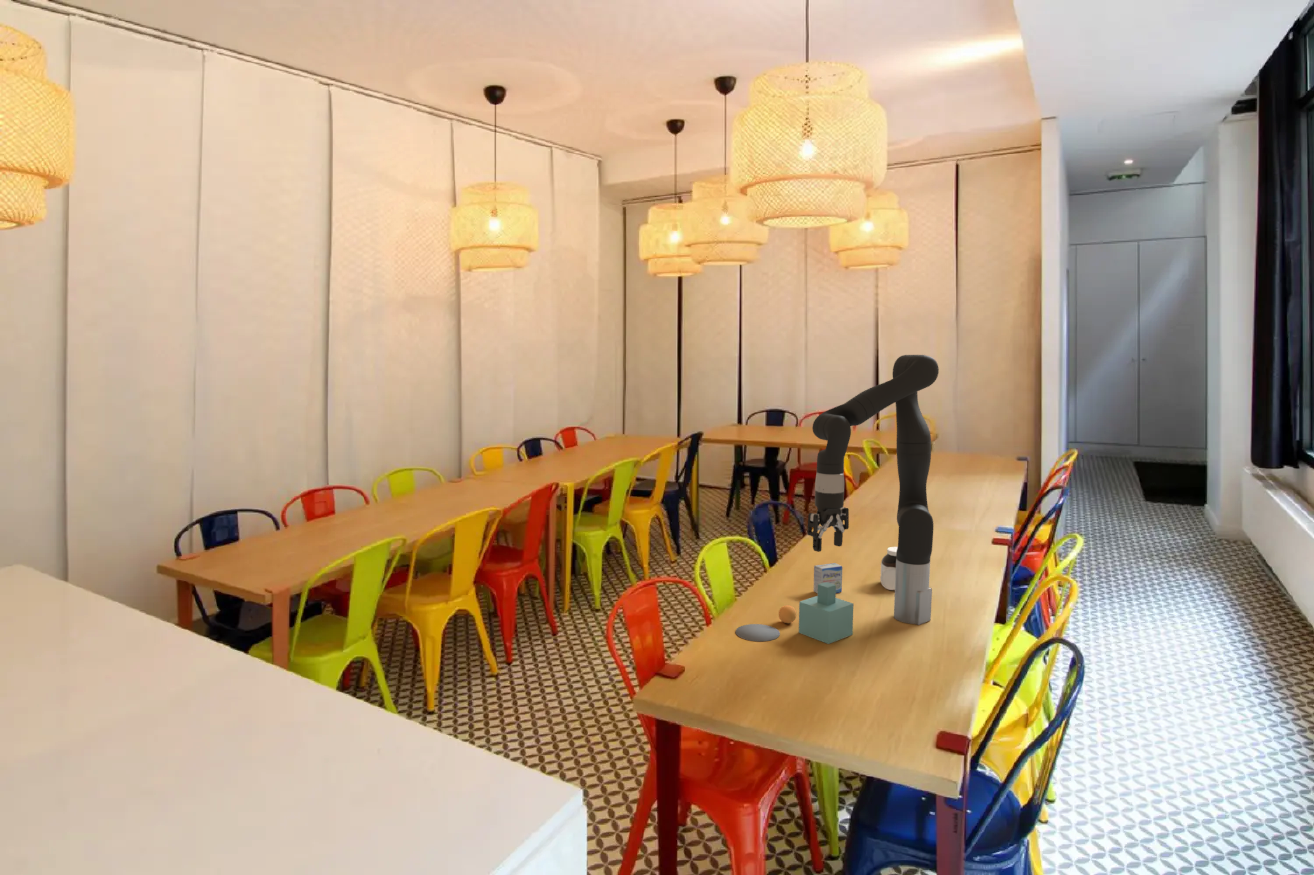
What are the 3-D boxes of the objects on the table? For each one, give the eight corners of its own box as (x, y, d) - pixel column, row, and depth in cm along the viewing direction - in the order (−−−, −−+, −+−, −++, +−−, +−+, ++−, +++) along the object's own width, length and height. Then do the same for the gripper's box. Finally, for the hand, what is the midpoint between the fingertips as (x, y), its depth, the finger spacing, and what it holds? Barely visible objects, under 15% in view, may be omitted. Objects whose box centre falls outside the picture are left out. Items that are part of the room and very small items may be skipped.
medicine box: (820, 595, 244) (821, 569, 243) (812, 591, 248) (813, 565, 247) (842, 592, 247) (843, 566, 246) (833, 588, 251) (834, 562, 250)
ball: (799, 623, 221) (800, 606, 220) (788, 627, 218) (788, 610, 217) (786, 618, 225) (786, 601, 224) (774, 622, 222) (775, 605, 221)
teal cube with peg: (852, 634, 213) (854, 585, 211) (828, 644, 206) (829, 593, 204) (822, 623, 220) (824, 576, 219) (798, 632, 214) (799, 583, 212)
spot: (789, 634, 213) (789, 633, 213) (758, 645, 206) (758, 644, 206) (757, 621, 222) (757, 620, 222) (726, 631, 215) (726, 630, 215)
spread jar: (907, 580, 259) (909, 546, 258) (920, 591, 248) (922, 555, 247) (872, 580, 259) (873, 546, 257) (883, 592, 248) (884, 556, 246)
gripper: (823, 494, 201) (821, 556, 203) (857, 488, 210) (855, 547, 212) (800, 490, 207) (799, 550, 209) (835, 483, 215) (833, 541, 218)
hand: (827, 548), depth 210 cm, fingers open, 8 cm apart
